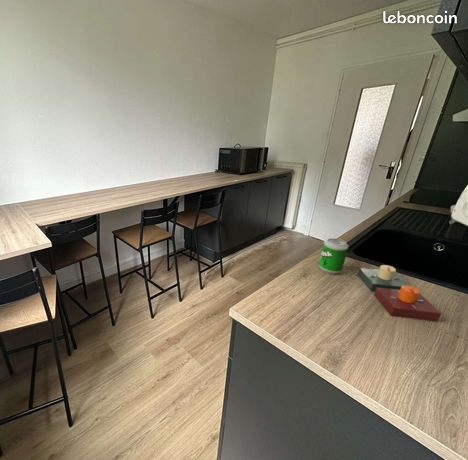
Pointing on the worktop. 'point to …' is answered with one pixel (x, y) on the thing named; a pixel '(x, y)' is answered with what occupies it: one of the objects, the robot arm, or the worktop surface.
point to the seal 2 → (408, 294)
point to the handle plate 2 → (406, 306)
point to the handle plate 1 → (380, 280)
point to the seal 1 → (386, 272)
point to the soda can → (333, 255)
